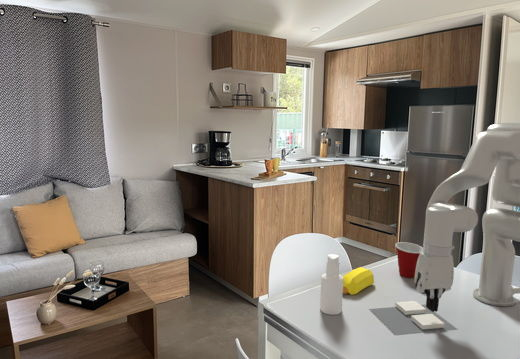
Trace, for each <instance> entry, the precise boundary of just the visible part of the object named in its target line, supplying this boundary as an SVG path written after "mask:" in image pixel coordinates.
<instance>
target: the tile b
mask: <svg viewBox="0 0 520 359" xmlns="http://www.w3.org/2000/svg"><path fill="white" fill-rule="evenodd" d="M411 320H412V321H413V322H414V323H415V324H417V325H418V326H419V327H420V328H421V329H422V330H427V329H438V328H444V324H445V323H443V322H442V321H441V320H440V319H438V318H437V317H436V316H434V315H433V314H422V315H411Z"/></svg>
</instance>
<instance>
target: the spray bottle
mask: <svg viewBox="0 0 520 359" xmlns="http://www.w3.org/2000/svg"><path fill="white" fill-rule="evenodd" d="M339 257H340V256H339V254H334V253H331V254H328V255H327V261H326V269H325V273H323V274H322V275H321V281H320V299H319V300H320V302H319V310H320V311H321V312H322V313H323V314H325V315H330V316H331V315H332V316H334V315H339V314H341V313H342V311H343V296H344V295H343V294H344V293H343V276H342V275H341V274H340V261H339V260H340V258H339Z"/></svg>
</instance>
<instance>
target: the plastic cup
mask: <svg viewBox="0 0 520 359" xmlns="http://www.w3.org/2000/svg"><path fill="white" fill-rule="evenodd" d="M394 245H395V248H396V255H397V266H398V273H399V275H400V277H403V278H406V279H407V278H408V279H413V278H414V279H415V271H416V265H417V261H418V257H419V254H420V252H423V246H420V245H419V244H416V243H412V242H407V241H405V242H404V241H403V242H402V241H400V242H396V243H395V244H394Z"/></svg>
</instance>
